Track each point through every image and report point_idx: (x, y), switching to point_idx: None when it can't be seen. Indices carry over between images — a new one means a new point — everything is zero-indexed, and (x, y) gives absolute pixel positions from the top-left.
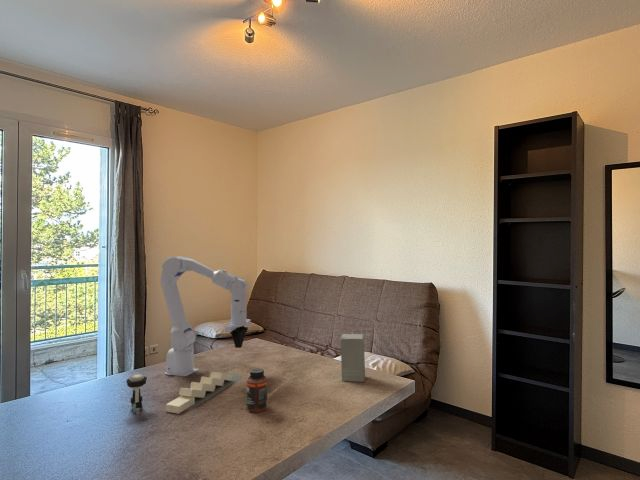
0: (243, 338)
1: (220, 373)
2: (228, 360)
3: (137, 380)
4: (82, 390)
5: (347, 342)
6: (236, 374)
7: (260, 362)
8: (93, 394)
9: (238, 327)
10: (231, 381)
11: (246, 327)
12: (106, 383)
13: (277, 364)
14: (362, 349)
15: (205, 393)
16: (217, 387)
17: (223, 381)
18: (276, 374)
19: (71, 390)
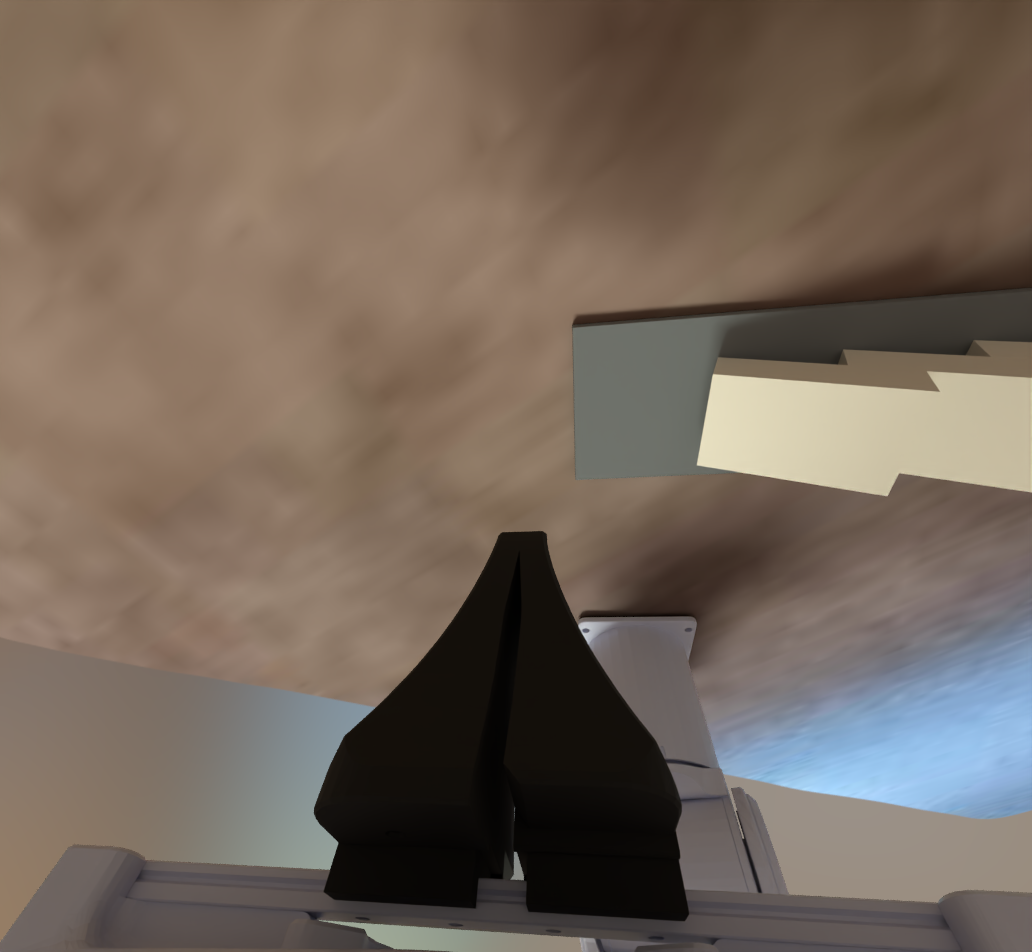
0: (475, 611)
1: (929, 405)
2: (363, 584)
3: None
4: (886, 769)
5: None
6: (574, 402)
7: (241, 403)
8: (931, 738)
9: (574, 912)
10: (732, 347)
11: (340, 818)
12: (812, 758)
13: (154, 230)
14: None
15: None
16: None
17: (853, 362)
18: (370, 29)
19: (886, 784)
